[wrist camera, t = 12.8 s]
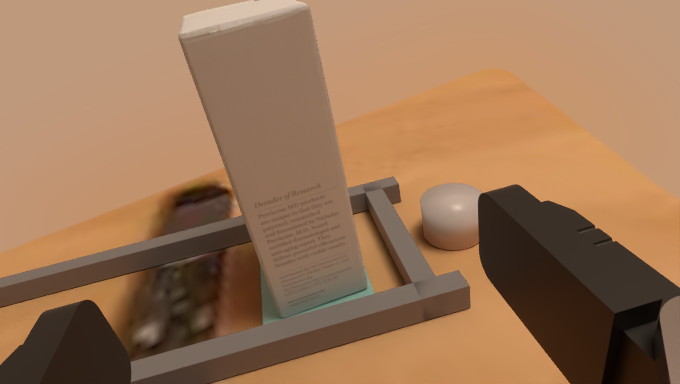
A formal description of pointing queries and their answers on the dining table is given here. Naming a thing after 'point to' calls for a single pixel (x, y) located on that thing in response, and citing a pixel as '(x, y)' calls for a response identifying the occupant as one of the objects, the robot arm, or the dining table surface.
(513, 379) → the dining table surface
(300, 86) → the skincare box
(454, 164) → the dining table surface
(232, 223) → the guide channel
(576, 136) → the dining table surface
